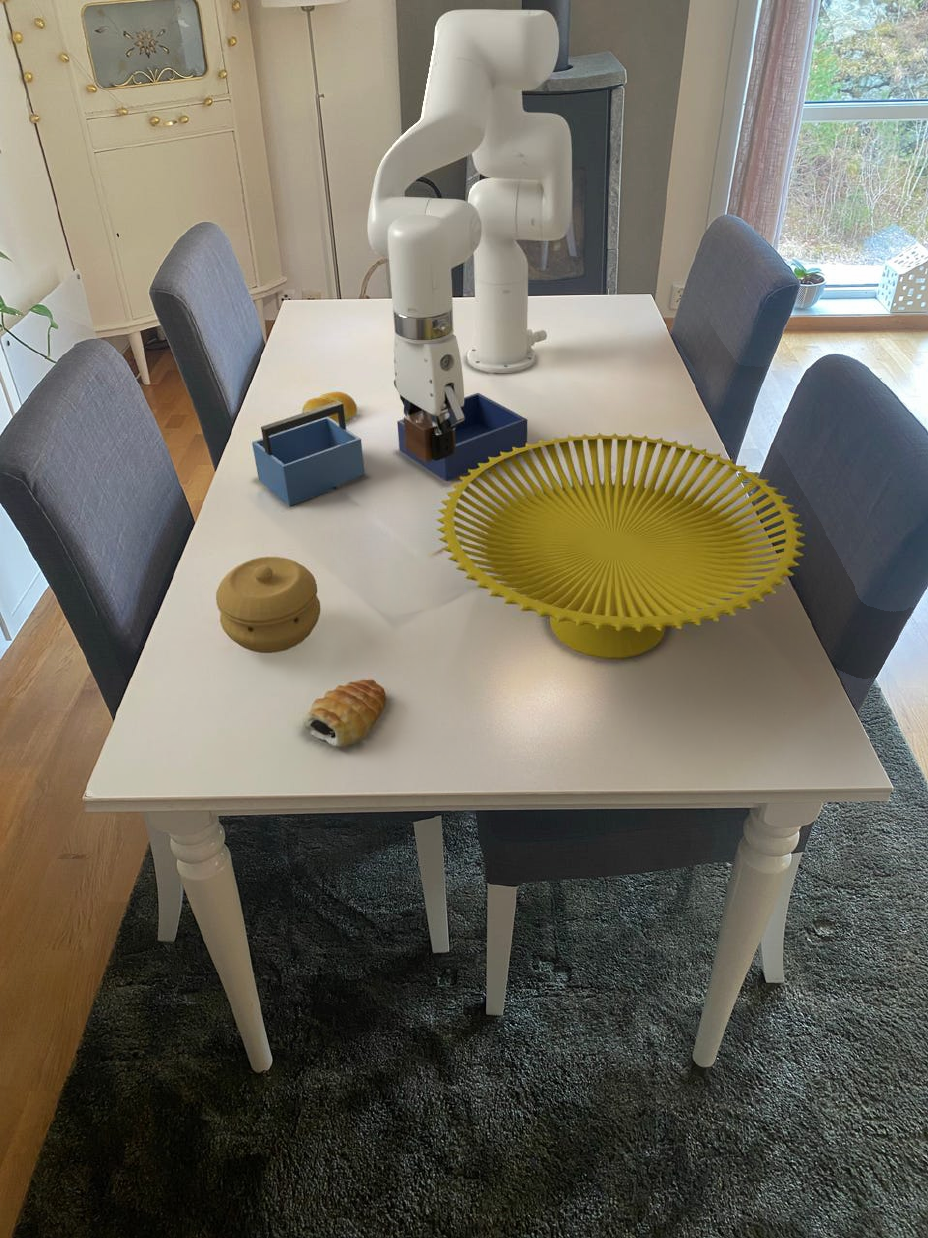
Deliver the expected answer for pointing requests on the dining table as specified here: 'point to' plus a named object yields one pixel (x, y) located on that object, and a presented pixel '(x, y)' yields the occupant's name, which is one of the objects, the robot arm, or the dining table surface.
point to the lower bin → (476, 437)
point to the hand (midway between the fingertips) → (430, 447)
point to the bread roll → (333, 397)
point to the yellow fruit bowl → (618, 543)
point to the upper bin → (308, 454)
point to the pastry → (346, 712)
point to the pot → (268, 604)
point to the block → (421, 434)
